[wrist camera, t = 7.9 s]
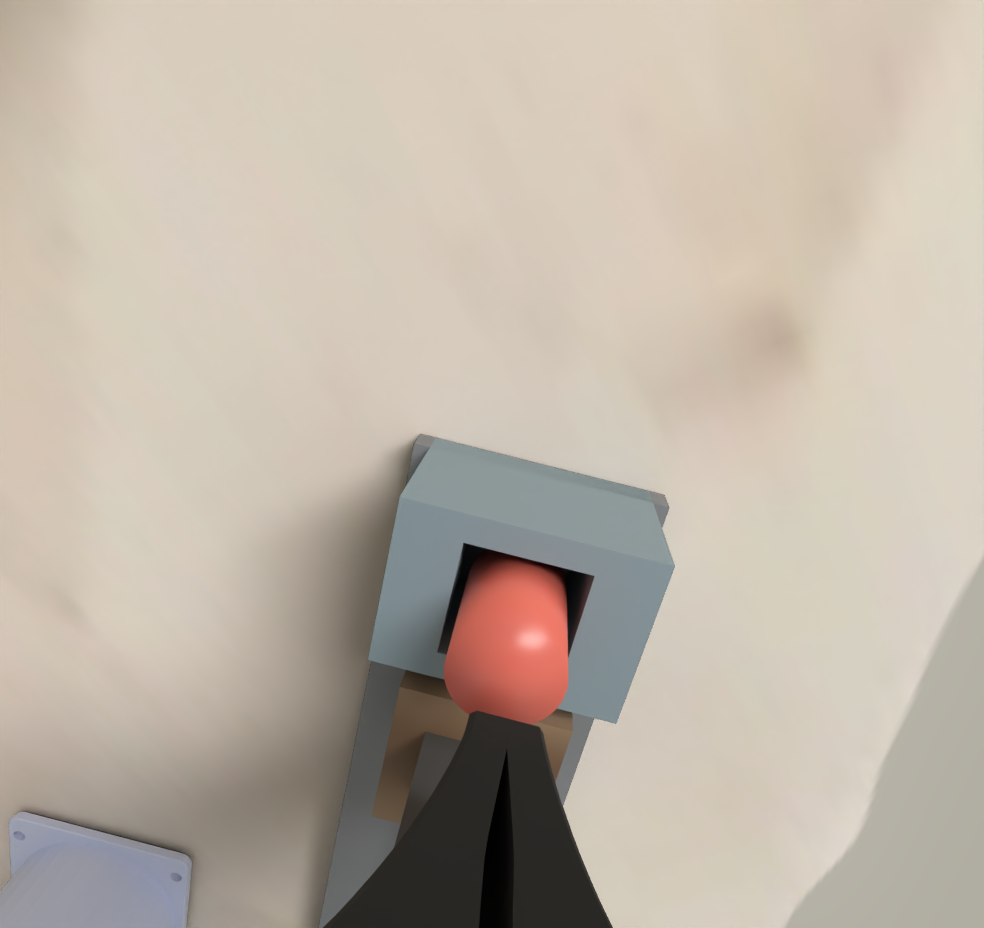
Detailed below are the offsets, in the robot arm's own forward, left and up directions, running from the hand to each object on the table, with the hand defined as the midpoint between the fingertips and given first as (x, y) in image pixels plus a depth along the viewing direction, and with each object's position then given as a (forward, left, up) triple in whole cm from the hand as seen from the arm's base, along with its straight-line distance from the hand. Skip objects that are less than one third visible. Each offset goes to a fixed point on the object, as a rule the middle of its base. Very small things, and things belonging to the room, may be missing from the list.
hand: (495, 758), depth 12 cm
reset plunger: (0, 0, -6) cm, 6 cm away
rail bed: (-10, 0, -10) cm, 14 cm away
